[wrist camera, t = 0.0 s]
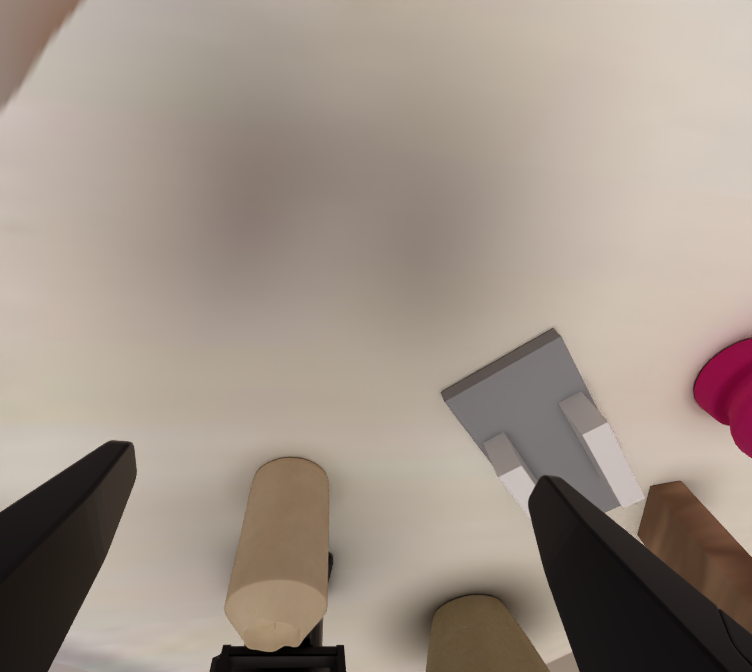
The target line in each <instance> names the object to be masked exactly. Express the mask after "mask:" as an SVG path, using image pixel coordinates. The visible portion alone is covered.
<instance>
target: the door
mask: <svg viewBox="0 0 752 672" xmlns="http://www.w3.org/2000/svg"><path fill="white" fill-rule="evenodd" d="M638 536H639V538H640V539H641V541H642V542H643V543H644V545H645V546H646V548H647V549H649V550H650V551H651V552H652V553H654V554H655V555H656V556H657V557H658V558H660V559H661V560H662V561H663V562H664V563H666V564H667V565H668V566H669V567H671V568H672V569H673V570H674V571H675V572H677V573H678V574H679V575H680V576H682V577H683V578H684V579H685V580H686V581H688V582H689V583H690V584H691V585H692V586H694V587H695V588H696V589H697V590H699V591H700V592H701V593H702V594H703V595H705V596H706V597H707V598H708V599H709V600H711V601H712V602H713V603H714V604H716V606H717V608H719V609H722V610H723V611H724V612H725V613H727V614H728V615H729V616H730V617H731V618H733V619H734V620H735V621H736V622H737V623H739V624H740V625H741V626H742V627H744V628H745V629H746V630H747V631H749V632H750V633H751V634H752V557H751V556H750V555H749V554H748V553H747V552H746V551H745V549H744V548H743V547H742V546H741V545H740V544H739V543H738V542H737V541H736V540H735V539H734V538H733V537H732V535H731V534H730V533H729V532H728V531H727V530H726V529H725V528H724V527H723V526H722V525H721V524H720V523H719V521H718V520H717V519H716V518H715V517H714V516H713V515H712V514H711V513H710V512H709V511H708V510H707V509H706V507H705V506H704V505H703V504H702V503H701V502H700V501H699V500H698V499H697V498H696V497H695V496H694V495H693V493H692V492H691V491H690V490H689V489H688V488H687V487H686V486H685V485H684V484H683V483H682V482H681V481H676V482H670V483H665V484H659V485H653V486H650V490H649V494H648V497H647V501H646V505H645V509H644V512H643V516H642V520H641V524H640V527H639V531H638Z"/></svg>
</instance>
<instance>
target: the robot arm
mask: <svg viewBox="0 0 752 672" xmlns="http://www.w3.org/2000/svg"><path fill="white" fill-rule="evenodd" d="M136 475H137V468H136V459H135V450H134V445H133V443H132V442H129V441H116V440H111V441H108V442H106V443H104V444H103V445H101V446H100V447H98V448H97V449H95V450H94V451H92V452H91V453H89V454H88V455H86V456H85V457H83V458H82V459H80V460H79V461H77V462H76V463H74V464H73V465H71V466H70V467H68V468H66V469H65V470H63V471H62V472H60V473H59V474H57V475H56V476H54V477H53V478H51V479H50V480H48V481H47V482H45V483H44V484H42V485H41V486H39V487H38V488H36V489H35V490H33V491H32V492H30V493H28V494H27V495H25V496H24V497H22V498H21V499H19V500H18V501H16V502H15V503H13V504H12V505H10V506H9V507H7V508H6V509H4V510H3V511H1V512H0V672H48V670H49V668H50V666H51V664H52V662H53V660H54V658H55V656H56V654H57V653H58V651H59V649H60V647H61V645H62V643H63V641H64V639H65V637H66V635H67V633H68V631H69V629H70V627H71V625H72V623H73V621H74V619H75V617H76V615H77V613H78V611H79V609H80V608H81V606H82V604H83V602H84V600H85V598H86V596H87V594H88V592H89V590H90V588H91V586H92V584H93V582H94V580H95V578H96V576H97V574H98V572H99V570H100V568H101V566H102V564H103V562H104V560H105V558H106V555H107V553H108V550H109V548H110V545H111V543H112V540H113V538H114V535H115V532H116V530H117V527H118V525H119V522H120V519H121V517H122V514H123V512H124V509H125V506H126V504H127V501H128V499H129V496H130V493H131V491H132V488H133V486H134V483H135V479H136ZM528 509H529V513H530V517H531V521H532V525H533V529H534V533H535V537H536V541H537V545H538V549H539V553H540V557H541V561H542V564H543V568H544V571H545V575H546V578H547V581H548V584H549V587H550V589H551V592H552V595H553V598H554V601H555V604H556V606H557V609H558V612H559V615H560V618H561V620H562V623H563V626H564V629H565V632H566V635H567V637H568V640H569V643H570V646H571V649H572V651H573V654H574V657H575V660H576V662H577V666H578V668H579V671H580V672H752V634H751V633H750V632H749V631H747V630H746V629H745V628H744V627H742V626H741V625H740V624H739V623H737V622H736V621H735V620H734V619H733V618H731V617H730V616H729V615H728V614H727V613H725V612H724V611H723V610H722V609H719V608H717V606H716V604H714V603H713V602H712V601H711V600H709V599H708V598H707V597H706V596H705V595H703V594H702V593H701V592H700V591H699V590H697V589H696V588H695V587H694V586H692V585H691V584H690V583H689V582H688V581H686V580H685V579H684V578H683V577H682V576H680V575H679V574H678V573H677V572H675V571H674V570H673V569H672V568H671V567H669V566H668V565H667V564H666V563H664V562H663V561H662V560H661V559H660V558H658V557H657V556H656V555H655V554H654V553H652V552H651V551H650V550H649V549H647V548H646V547H645V546H644V545H643V544H641V543H640V542H639V541H638V540H637V539H635V538H634V537H633V536H632V535H630V534H629V533H628V532H627V531H626V530H624V529H623V528H622V527H621V526H620V525H618V524H617V523H616V522H615V521H613V520H612V519H611V518H610V517H609V516H607V515H606V514H605V513H604V512H603V511H601V510H600V509H599V508H598V507H596V506H595V505H594V504H593V503H592V502H590V501H589V500H588V499H587V498H585V497H584V496H583V495H582V494H581V493H579V492H578V491H577V490H576V489H575V488H573V487H572V486H571V485H570V484H568V483H567V482H566V481H565V480H564V479H562V478H561V477H559V476H552V475H543V476H541V477H540V478H539V480H538V481H537V483H536V485H535V487H534V489H533V491H532V493H531V494H530V496H529V499H528ZM332 565H333V557H332V556H331V555H328V582H329V578H330V574H331V569H332ZM322 636H323V618H322V619H321V620H320V621H319V622H318V623H317V624H316V625H315V627H314V628H313V629H312V630H311V631H310V632H309V633H308V635H307V636H306V637H305V638H304V639H303V641H302V642H301V644H300V645H299V646H298V647H291V646H283V647H281V648H280V649H278V650H276V651H273V652H266V651H261V650H255V649H249V648H247V646H246V645H245V643H244V646H231V645H223V648H222V652H221V654H220V655H218V656H216V657H214V658H213V659H212V663H211V667H210V672H346V665H345V653H344V645H336V646H322Z"/></svg>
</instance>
